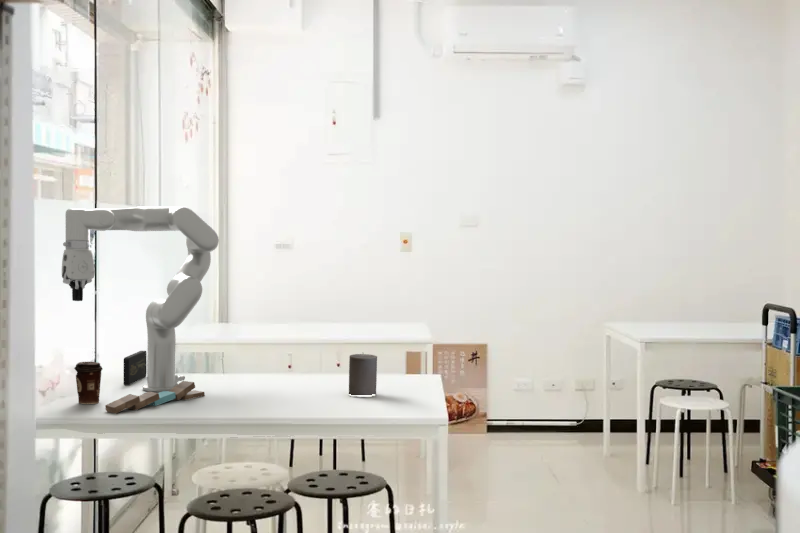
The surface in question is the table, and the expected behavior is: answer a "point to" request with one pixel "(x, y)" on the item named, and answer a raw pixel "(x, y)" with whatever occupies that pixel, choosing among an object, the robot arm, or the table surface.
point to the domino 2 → (164, 397)
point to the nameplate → (134, 367)
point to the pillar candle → (362, 374)
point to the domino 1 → (146, 400)
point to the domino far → (122, 403)
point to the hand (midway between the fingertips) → (77, 300)
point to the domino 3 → (182, 389)
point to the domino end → (192, 395)
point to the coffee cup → (88, 382)
